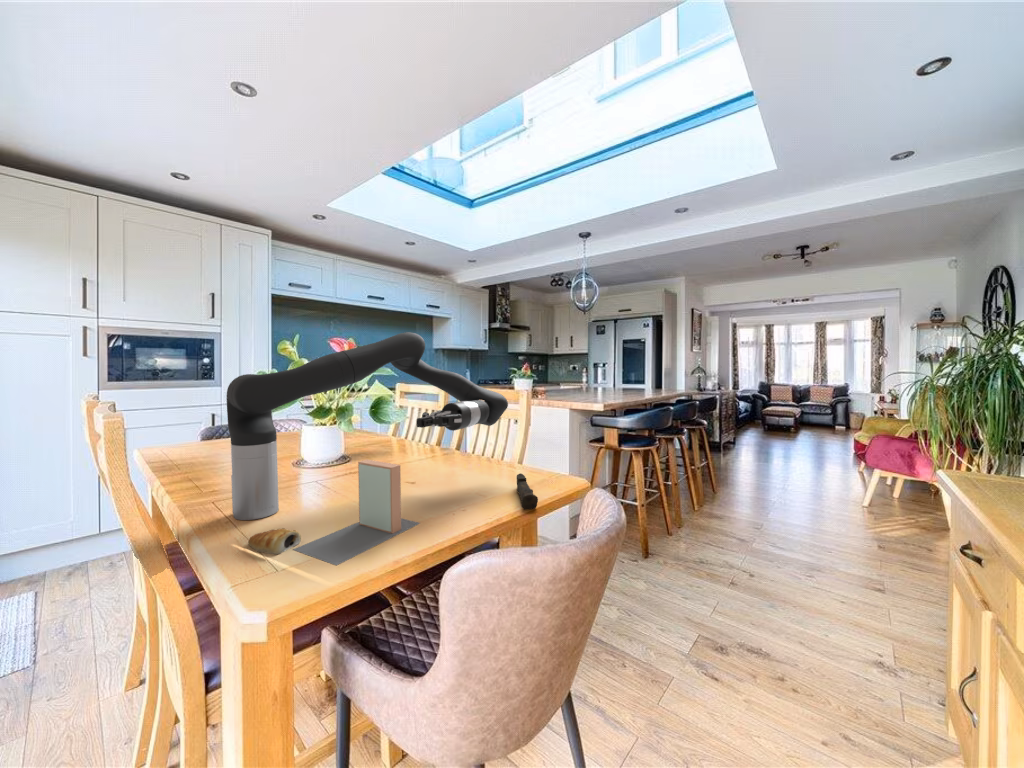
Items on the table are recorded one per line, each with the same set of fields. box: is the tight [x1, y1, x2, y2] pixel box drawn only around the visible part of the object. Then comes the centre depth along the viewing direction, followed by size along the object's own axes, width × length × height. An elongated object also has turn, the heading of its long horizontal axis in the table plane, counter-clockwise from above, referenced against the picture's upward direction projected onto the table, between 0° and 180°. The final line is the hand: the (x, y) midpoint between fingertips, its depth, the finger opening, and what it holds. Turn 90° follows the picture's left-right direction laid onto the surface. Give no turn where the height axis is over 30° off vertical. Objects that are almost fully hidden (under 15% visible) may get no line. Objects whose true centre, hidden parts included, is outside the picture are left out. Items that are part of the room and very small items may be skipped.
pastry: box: [248, 527, 302, 555], centre depth 81 cm, size 9×7×4 cm
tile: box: [357, 459, 402, 534], centre depth 90 cm, size 10×3×14 cm, turn 61°
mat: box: [292, 517, 421, 566], centre depth 86 cm, size 12×22×1 cm, turn 151°
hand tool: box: [516, 473, 539, 510], centre depth 112 cm, size 19×4×5 cm, turn 5°
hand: (418, 423), depth 100 cm, fingers closed
